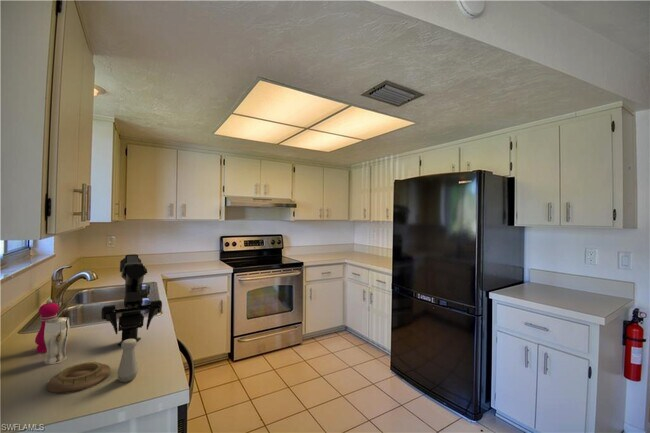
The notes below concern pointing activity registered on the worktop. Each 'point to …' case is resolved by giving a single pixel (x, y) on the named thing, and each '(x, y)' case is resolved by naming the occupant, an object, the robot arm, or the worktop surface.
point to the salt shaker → (128, 361)
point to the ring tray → (77, 386)
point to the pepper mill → (46, 313)
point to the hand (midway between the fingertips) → (132, 331)
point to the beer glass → (56, 339)
